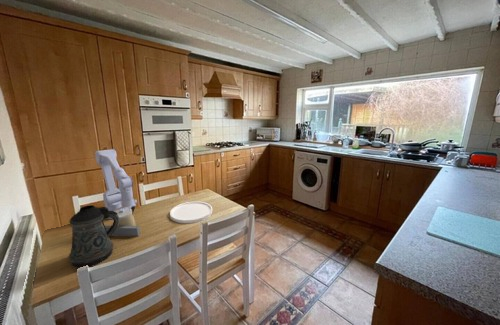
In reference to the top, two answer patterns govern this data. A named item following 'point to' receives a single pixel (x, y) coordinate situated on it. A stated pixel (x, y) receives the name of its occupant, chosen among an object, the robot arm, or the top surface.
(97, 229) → the beer stein
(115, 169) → the robot arm
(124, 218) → the coffee cup
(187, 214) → the plate
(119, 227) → the plank
